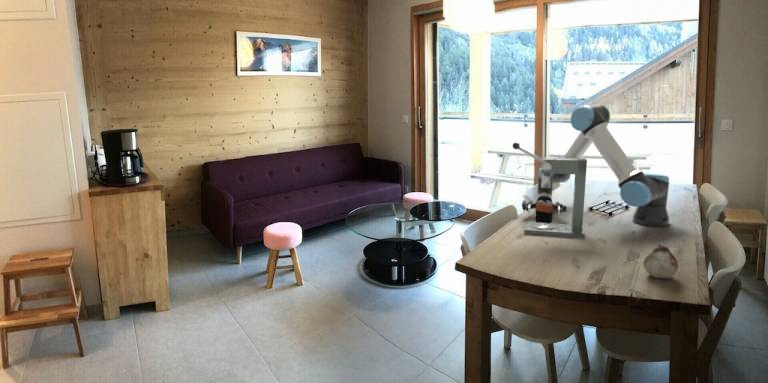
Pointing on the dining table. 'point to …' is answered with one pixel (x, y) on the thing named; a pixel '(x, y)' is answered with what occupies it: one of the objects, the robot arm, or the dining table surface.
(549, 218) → the battery
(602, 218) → the dining table surface
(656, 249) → the fruit
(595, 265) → the dining table surface
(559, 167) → the arbor press
